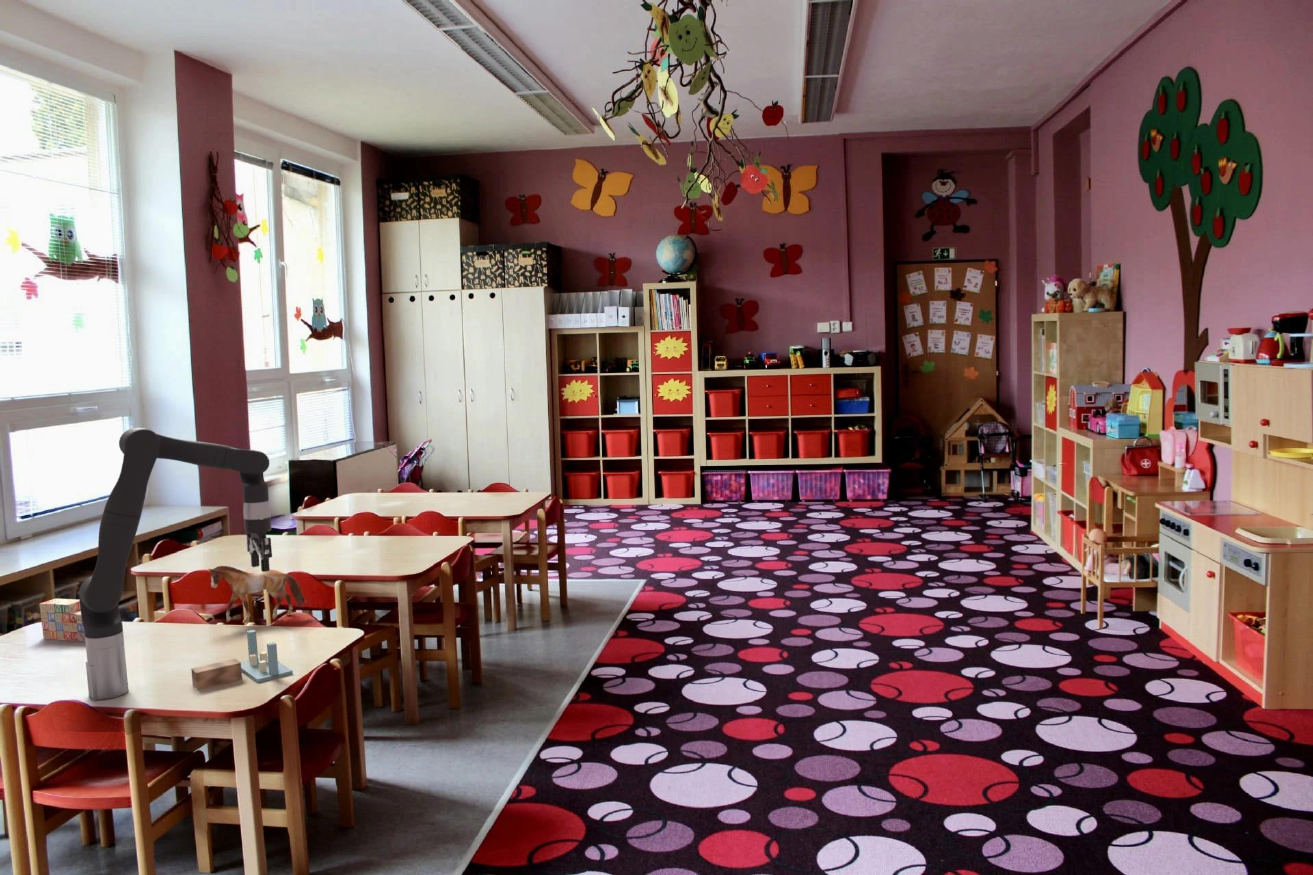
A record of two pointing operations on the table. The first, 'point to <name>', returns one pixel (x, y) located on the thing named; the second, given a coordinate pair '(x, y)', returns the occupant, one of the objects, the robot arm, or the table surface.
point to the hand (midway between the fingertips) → (260, 568)
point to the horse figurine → (257, 586)
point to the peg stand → (263, 661)
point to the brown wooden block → (216, 673)
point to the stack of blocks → (62, 620)
